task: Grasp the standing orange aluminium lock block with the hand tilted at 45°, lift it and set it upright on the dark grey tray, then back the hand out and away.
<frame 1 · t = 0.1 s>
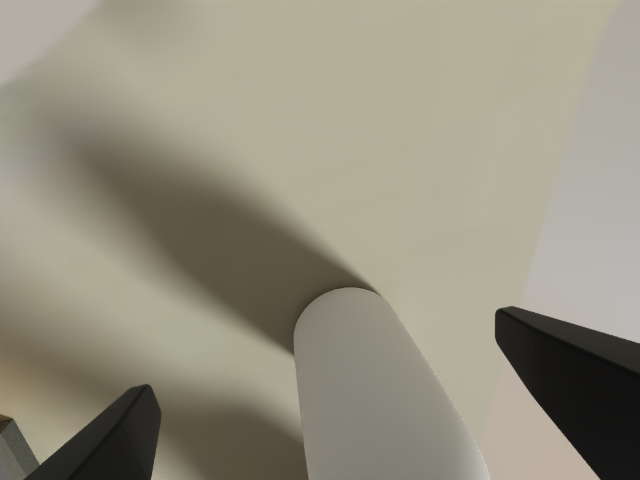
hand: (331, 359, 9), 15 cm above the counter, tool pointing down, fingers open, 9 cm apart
milk bottle: (344, 329, 26), on the counter
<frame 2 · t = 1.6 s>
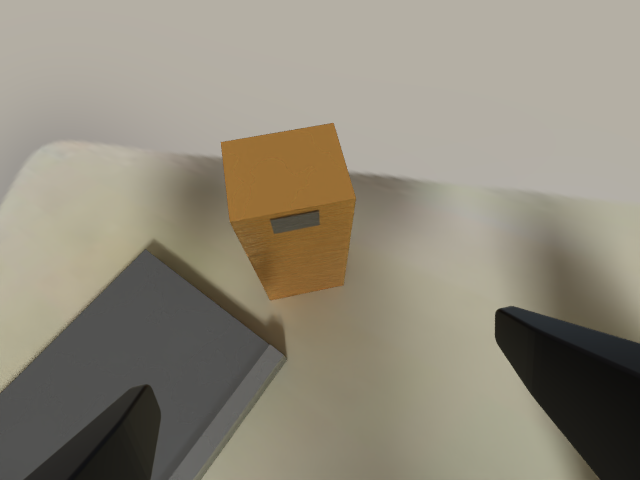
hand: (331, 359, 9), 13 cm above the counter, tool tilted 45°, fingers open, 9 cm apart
dark grey tray: (129, 405, 21), on the counter
lock block: (301, 265, 25), on the counter
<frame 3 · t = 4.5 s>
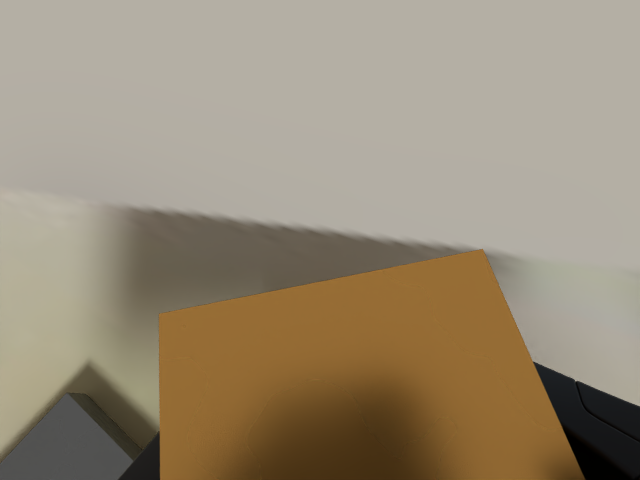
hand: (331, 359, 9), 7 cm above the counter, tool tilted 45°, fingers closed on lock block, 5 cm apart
lock block: (336, 415, 14), on the counter, touching gripper
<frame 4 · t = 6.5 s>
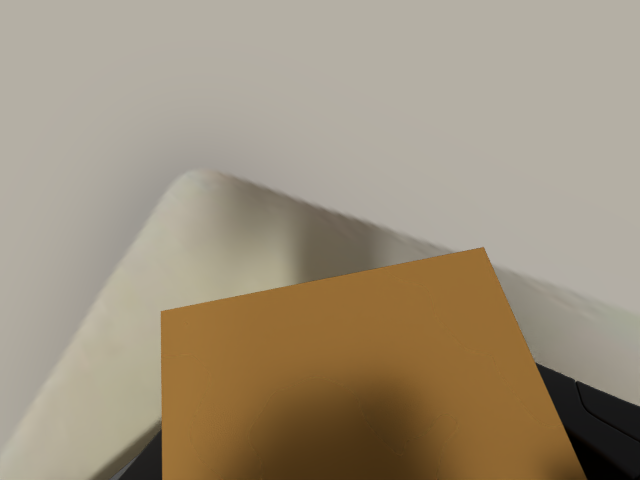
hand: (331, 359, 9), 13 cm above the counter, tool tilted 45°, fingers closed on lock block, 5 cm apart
lock block: (336, 414, 14), point 7 cm above the counter, touching gripper
when the fingers open (9 cm above the counter, at t = 8.4 s): lock block drops 1 cm, resting on dark grey tray.
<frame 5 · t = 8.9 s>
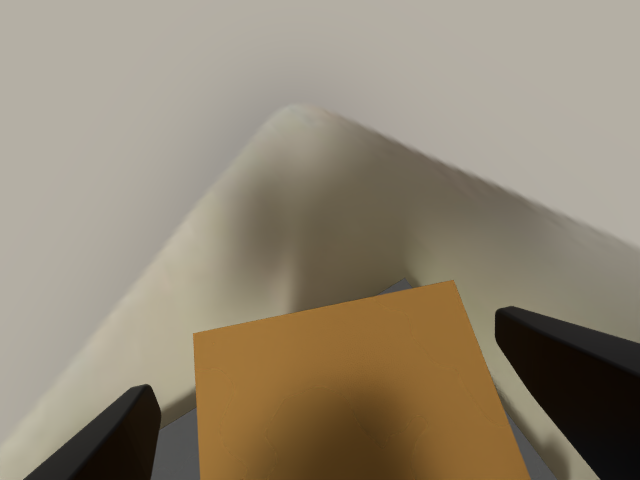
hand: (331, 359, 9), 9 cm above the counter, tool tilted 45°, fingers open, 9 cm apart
lock block: (335, 414, 16), point 1 cm above the counter, touching dark grey tray
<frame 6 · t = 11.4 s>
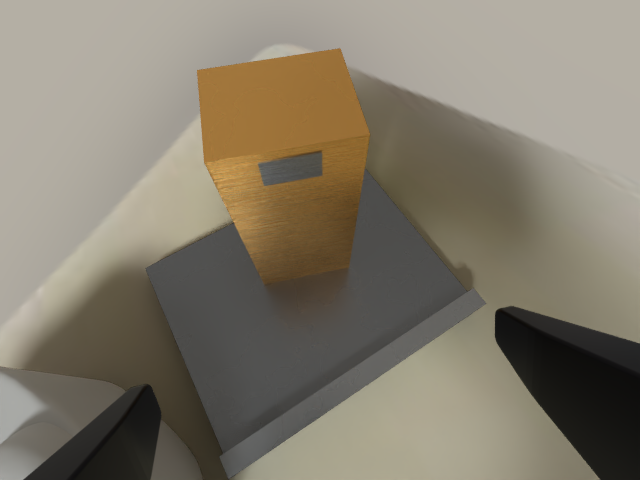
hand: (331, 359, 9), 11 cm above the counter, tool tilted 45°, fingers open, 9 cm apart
dark grey tray: (308, 293, 21), on the counter
lock block: (300, 244, 21), point 1 cm above the counter, touching dark grey tray
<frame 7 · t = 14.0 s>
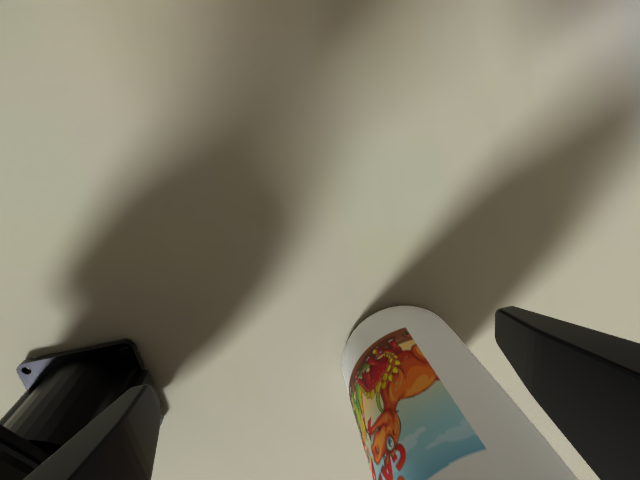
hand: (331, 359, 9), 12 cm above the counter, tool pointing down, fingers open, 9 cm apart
milk bottle: (394, 350, 24), on the counter
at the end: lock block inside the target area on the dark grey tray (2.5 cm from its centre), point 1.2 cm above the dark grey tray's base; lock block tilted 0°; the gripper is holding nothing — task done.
